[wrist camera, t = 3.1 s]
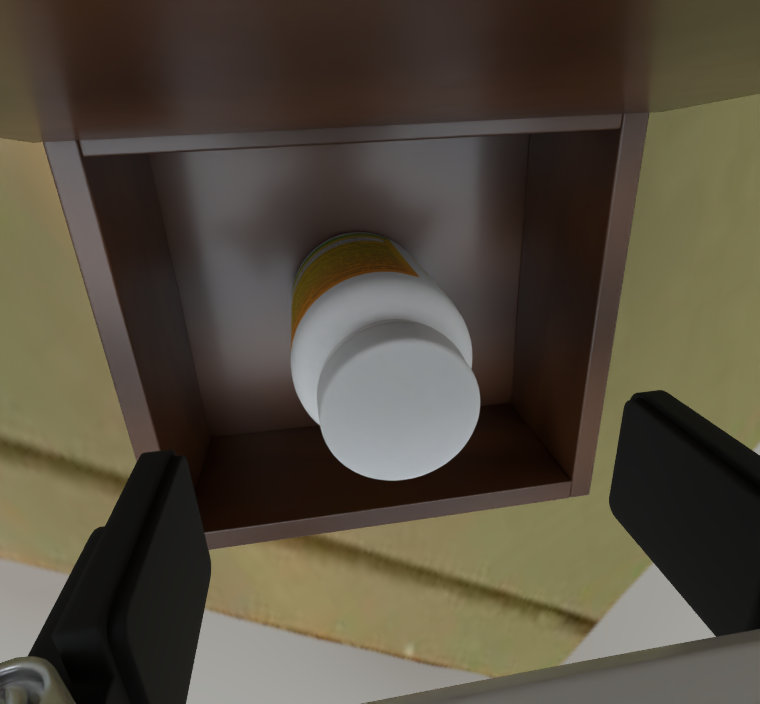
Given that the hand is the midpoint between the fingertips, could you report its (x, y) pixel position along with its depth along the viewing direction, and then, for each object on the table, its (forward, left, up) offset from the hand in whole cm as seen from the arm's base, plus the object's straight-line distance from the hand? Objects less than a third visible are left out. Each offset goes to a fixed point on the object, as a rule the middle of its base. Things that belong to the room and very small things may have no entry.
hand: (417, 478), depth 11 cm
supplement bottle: (0, 0, -12) cm, 12 cm away
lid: (-6, -5, +2) cm, 8 cm away
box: (0, 0, -12) cm, 12 cm away
